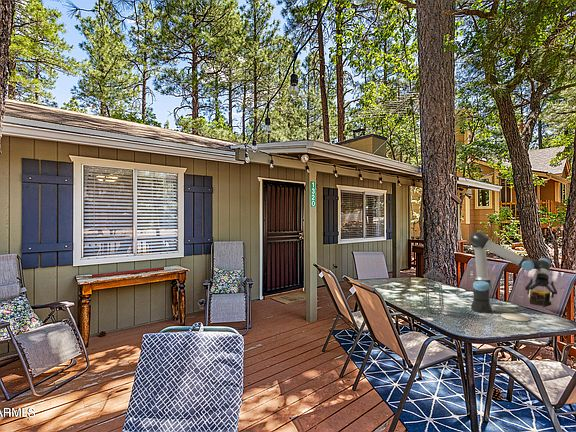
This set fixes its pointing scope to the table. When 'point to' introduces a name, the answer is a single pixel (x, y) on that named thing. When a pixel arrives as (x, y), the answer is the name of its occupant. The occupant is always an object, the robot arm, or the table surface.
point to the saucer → (515, 317)
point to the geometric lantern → (434, 286)
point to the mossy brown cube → (540, 298)
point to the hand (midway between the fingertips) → (539, 299)
